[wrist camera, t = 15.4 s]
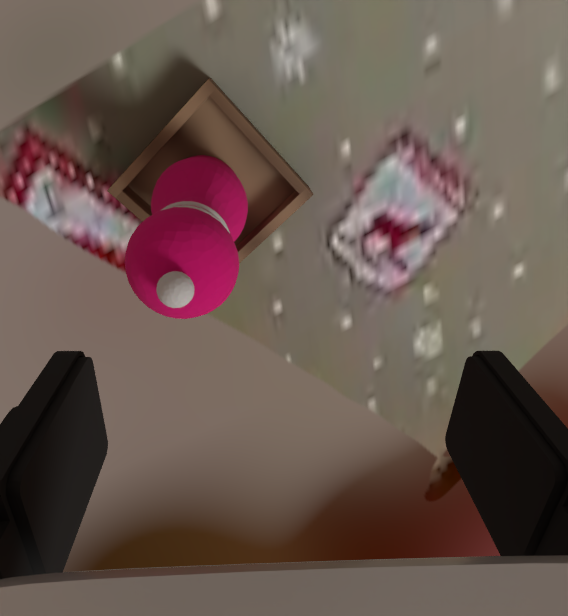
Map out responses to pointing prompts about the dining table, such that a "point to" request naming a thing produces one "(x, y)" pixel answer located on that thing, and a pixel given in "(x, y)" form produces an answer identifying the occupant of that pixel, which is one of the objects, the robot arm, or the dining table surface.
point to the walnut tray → (228, 148)
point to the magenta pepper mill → (189, 239)
